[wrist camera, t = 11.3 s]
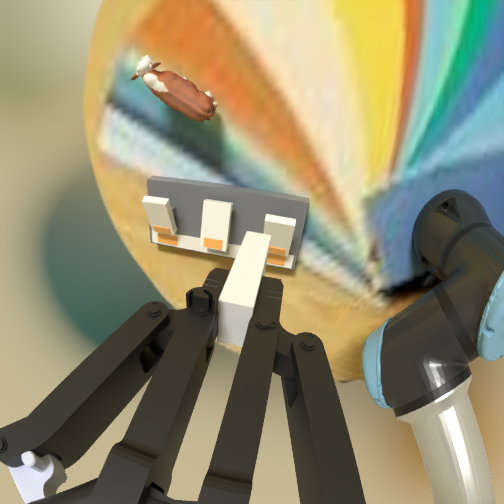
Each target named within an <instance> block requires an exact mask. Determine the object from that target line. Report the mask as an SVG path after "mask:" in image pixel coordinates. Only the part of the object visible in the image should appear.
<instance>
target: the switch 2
mask: <svg viewBox="0 0 504 504" xmlns="http://www.w3.org/2000/svg"><path fill="white" fill-rule="evenodd" d="M295 224H296V219H292V218H286V217H281V216H275V215H270V214H266V217H265V223H264V233H263V234H267V235H271V240H270V246H269V253H274V254H280V255H285V256H288V254H289V250H290V246H291V241H292V237H293V233H294V229H295Z"/></svg>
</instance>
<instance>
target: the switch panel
mask: <svg viewBox="0 0 504 504" xmlns="http://www.w3.org/2000/svg"><path fill="white" fill-rule="evenodd" d="M147 187H148V196H152V197H160V198H167V199H169V201H170V205H171V209H172V212H173V216H174V220H175V223H176V227H177V231H176V233H175V235H170V234H165V233H159V232H154V231H152V228H151V225H150V223H149V226H150V240H151V243H155V244H160V245H165V246H170V247H175V248H180V249H185V250H190V251H195V252H201V253H206V254H211V255H216V256H221V257H227V258H232V259H236V256H237V254H238V251H239V249H240V247H241V244H242V242H243V240H244V237H245V235H246V232H247V231H250V232H256V233H261V234H263V233H264V223H265V217H266V214H270V215H275V216H281V217H286V218H292V219H296V224H295V229H294V233H293V237H292V241H291V246H290V250H289V254H288V256H285V255H280V254H274V253H269V252H268V258H267V264H266V265H269V266H274V267H280V268H285V269H290V270H294V268H295V263H296V259H297V255H298V250H299V246H300V242H301V237H302V233H303V228H304V223H305V219H306V214H307V209H308V204H309V198H304V197H298V196H293V195H287V194H282V193H276V192H270V191H264V190H258V189H252V188H246V187H239V186H232V185H225V184H218V183H211V182H203V181H195V180H187V179H178V178H169V177H159V176H152V177H150V178H149V179H147ZM205 199H210V200H217V201H224V202H230V203H233V208H232V216H231V224H230V233H229V241H228V249H227V250H226V252H225V251H220V250H215V249H209V248H204V247H200V236H201V224H202V213H203V202H204V200H205Z"/></svg>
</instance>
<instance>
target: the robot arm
mask: <svg viewBox="0 0 504 504" xmlns="http://www.w3.org/2000/svg"><path fill="white" fill-rule="evenodd" d="M270 240H271V235H267V234H261V233H256V232H250V231H247V232H246V235H245V237H244V240H243V242H242V244H241V247H240V249H239V251H238V254H237V256H236V259H235V261H234V263H233V266H232V268H231V271H230V270H225V269H220V268H215V269H213V270H212V271H211V272H209V274H208V276H207V278H206V280H205V282H204V284H203V286H202V287H197V288H193V289H191V290H189V291H188V292H187V293H186V303H187V308H185V309H180V310H169V309H168V307H167V305H165V304H164V303H162V302H158V301H152V302H148V303H146V304H145V305H143V306H142V307H141V308H140V309H139V310H138V311H137V312H136V313H134V314H133V315H132V316H131V317H130V318H129V319H128V320H127V321H126V322H125V323H123V324H122V325H121V326H120V327H119V328H118V329H117V330H116V331H115V332H114V333H113V334H112V335H110V336H109V337H108V338H107V339H106V340H105V341H104V342H103V343H102V344H101V345H100V346H99V347H98V348H97V349H95V350H94V351H93V352H92V353H91V354H90V355H89V356H88V357H87V358H86V359H85V360H84V361H83V362H82V363H81V364H80V365H79V366H78V367H77V368H76V369H75V370H74V371H72V372H71V373H70V375H68V376H67V377H66V378H65V379H64V380H63V381H62V382H61V383H60V384H59V385H58V386H57V387H56V388H55V389H54V390H53V391H52V392H51V393H50V394H49V395H48V396H47V397H46V398H45V399H44V400H43V401H42V402H41V403H40V404H39V405H38V406H37V407H36V408H35V409H34V410H33V411H32V412H31V413H30V414H29V416H27V417H26V418H23V419H21V420H19V421H16V422H14V423H12V424H10V425H7V426H5V427H3V428H0V462H2V463H4V464H5V465H7V466H8V468H9V470H10V472H11V475H12V477H13V479H14V481H15V484H16V486H17V488H18V490H19V492H20V494H21V496H22V498H23V500H24V502H25V504H249V500H250V495H251V490H252V479H253V474H254V468H255V464H256V459H257V454H258V449H259V444H260V439H261V434H262V427H263V423H264V417H265V412H266V406H267V400H268V394H269V388H270V382H271V376H272V372H274V373H276V374H278V375H280V376H281V381H282V387H283V393H284V399H285V406H286V412H287V419H288V425H289V431H290V438H291V444H292V451H293V457H294V464H295V471H296V476H297V483H298V491H299V497H300V504H366V502H365V498H364V494H363V489H362V485H361V480H360V476H359V472H358V468H357V464H356V460H355V456H354V452H353V448H352V444H351V440H350V436H349V433H348V429H347V425H346V422H345V418H344V414H343V410H342V407H341V403H340V400H339V396H338V393H337V389H336V386H335V382H334V379H333V376H332V372H331V369H330V365H329V362H328V359H327V356H326V352H325V349H324V346H323V343H322V341H321V339H320V338H319V337H318V336H316V335H314V334H312V333H308V332H303V333H299V334H297V335H294V334H291V333H289V332H288V331H286V330H285V329H284V328H283V327H282V326H281V324H280V322H279V317H280V310H281V302H282V295H283V287H284V286H283V284H282V281H281V279H276V278H270V277H265V276H264V274H265V270H266V264H267V258H268V252H269V246H270ZM413 247H414V251H415V254H416V256H417V257H418V259H419V261H420V262H421V264H422V265H423V267H424V268H425V269H426V270H427V271H429V272H430V273H432V274H433V275H435V276H436V277H438V278H439V279H441V280H442V282H441V283H439V284H438V285H437V286H435V287H434V288H433V289H431V290H430V291H429V292H428V293H426V294H425V295H424V296H422V297H421V298H420V299H418V300H417V301H415V302H414V303H413V304H411V305H410V306H408V307H407V308H406V309H404V310H403V311H401V312H400V313H398V314H397V315H395V316H394V317H390V318H388V319H387V320H386V321H385V323H384V324H382V325H381V326H380V327H378V328H377V329H375V330H374V331H372V332H371V333H370V334H369V335H368V336H367V338H366V340H365V342H364V345H363V350H362V370H363V376H364V380H365V383H366V387H367V389H368V392H369V394H370V396H371V397H372V399H375V403H376V404H377V405H378V406H379V407H381V408H384V409H386V408H388V409H390V408H392V407H393V409H394V412H395V415H396V418H397V419H399V420H402V421H406V422H408V423H410V424H411V426H412V429H413V432H414V435H415V437H416V441H417V444H418V447H419V450H420V453H421V456H422V459H423V463H424V466H425V470H426V473H427V476H428V480H429V484H430V488H431V491H432V495H433V499H434V503H435V504H495V499H494V491H493V485H492V480H491V474H490V469H489V464H488V460H487V456H486V452H485V448H484V444H483V440H482V437H481V433H480V430H479V427H478V423H477V420H476V417H475V414H474V411H473V408H472V405H471V402H470V399H469V397H468V392H467V390H468V387H469V384H470V381H471V378H472V373H471V371H470V368H469V366H468V363H470V362H471V361H473V360H474V359H476V358H477V357H479V356H480V357H481V358H483V359H484V360H486V361H495V360H497V359H498V358H499V357H504V237H503V236H502V235H501V234H500V233H499V232H498V231H497V230H496V229H495V228H493V226H492V224H491V222H490V220H489V218H488V216H487V214H486V212H485V210H484V208H483V206H482V205H481V204H480V202H479V201H478V200H477V199H475V198H474V197H473V196H471V195H470V194H469V193H467V192H465V191H462V190H448V191H444V192H442V193H440V194H438V195H436V196H435V197H433V198H432V199H431V200H430V201H429V202H428V203H427V204H426V205H425V206H424V207H423V209H422V210H421V212H420V214H419V215H418V217H417V220H416V222H415V225H414V230H413ZM216 337H217V342H222V343H226V344H231V345H235V346H240V347H242V350H241V354H240V358H239V362H238V365H237V369H236V372H235V376H234V380H233V384H232V387H231V391H230V395H229V398H228V402H227V405H226V409H225V413H224V417H223V420H222V424H221V427H220V431H219V434H218V438H217V441H216V445H215V448H214V452H213V455H212V459H211V462H210V466H209V469H208V472H207V474H206V476H205V479H204V482H203V485H202V488H201V491H200V495H199V498H198V501H182V500H174V499H171V498H169V497H167V493H168V490H169V487H170V484H171V479H172V470H173V467H174V464H175V462H176V459H177V456H178V453H179V450H180V447H181V444H182V441H183V438H184V435H185V432H186V429H187V427H188V423H189V421H190V418H191V415H192V412H193V409H194V406H195V403H196V400H197V397H198V395H199V392H200V389H201V386H202V383H203V380H204V377H205V374H206V371H207V369H208V366H209V363H210V360H211V357H212V354H213V351H214V343H215V340H216ZM152 375H153V376H152ZM151 376H152V378H151ZM150 378H151V380H150V382H149V384H148V386H147V389H146V391H145V393H144V395H143V397H142V399H141V401H140V403H139V405H138V408H137V410H136V412H135V414H134V416H133V418H132V420H131V423H130V425H129V427H128V429H127V431H126V434H125V436H124V438H123V439H122V441H121V442H118V443H116V444H115V445H114V446H113V447H112V449H111V451H110V452H109V455H108V457H107V459H106V461H105V464H104V466H103V468H102V470H101V473H100V475H99V477H98V478H96V479H93V480H91V481H89V482H86V483H84V484H81V485H79V486H76V487H74V488H71V489H69V490H66V491H63V492H60V493H58V494H56V491H57V488H58V487H59V486H60V485H61V484H62V483H64V482H66V480H67V476H66V473H65V469H66V468H68V467H70V466H71V465H73V464H74V463H75V462H77V461H78V460H79V459H80V458H81V457H82V456H83V455H84V454H85V453H86V452H87V450H88V449H89V448H90V447H91V446H92V445H93V444H94V442H95V441H96V440H97V439H98V438H99V437H100V435H101V434H102V433H103V432H104V431H105V430H106V429H107V427H108V426H109V425H110V424H111V423H112V422H113V420H114V419H115V418H116V417H117V416H118V415H119V413H120V412H121V411H122V410H123V409H124V408H125V406H126V405H127V404H128V403H129V402H130V401H131V400H132V398H133V397H134V396H135V395H136V394H137V393H138V391H139V390H140V389H141V388H142V387H143V386H144V384H145V383H146V382H147V381H148V380H149V379H150Z"/></svg>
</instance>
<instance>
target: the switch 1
mask: <svg viewBox="0 0 504 504" xmlns="http://www.w3.org/2000/svg"><path fill="white" fill-rule="evenodd" d="M142 204H143V207H144V209H145V212H146V215H147V217H148V220H149V223H150V225H151V228H152V231H154V232H159V233H165V234H170V235H175V233H176V231H177V227H176V223H175V220H174V216H173V212H172V209H171V205H170V201H169V199H167V198H160V197H152V196H145V197H144V198H143V200H142Z"/></svg>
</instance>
